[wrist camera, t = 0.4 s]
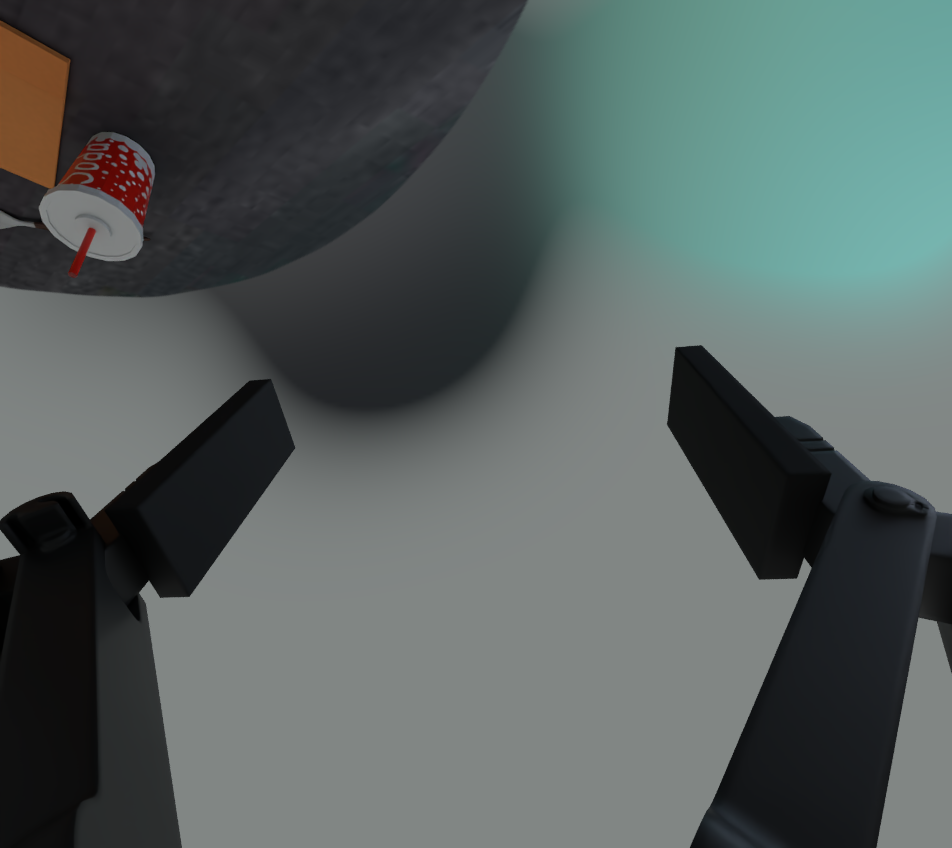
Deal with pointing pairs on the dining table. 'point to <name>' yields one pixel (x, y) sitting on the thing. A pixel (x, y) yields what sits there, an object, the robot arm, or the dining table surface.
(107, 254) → the beverage cup
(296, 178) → the dining table surface
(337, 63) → the dining table surface
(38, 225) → the fork
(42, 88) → the cloth
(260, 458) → the robot arm
